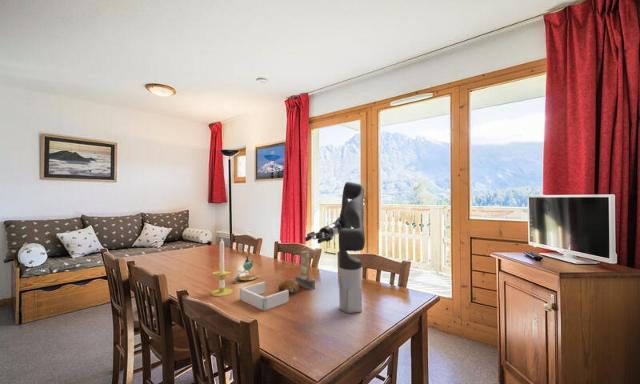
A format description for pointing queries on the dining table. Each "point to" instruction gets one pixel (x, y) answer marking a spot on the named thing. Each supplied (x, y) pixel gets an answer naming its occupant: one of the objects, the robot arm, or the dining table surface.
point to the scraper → (305, 272)
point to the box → (263, 303)
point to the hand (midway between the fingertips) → (311, 240)
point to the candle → (221, 275)
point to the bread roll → (289, 286)
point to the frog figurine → (246, 266)
